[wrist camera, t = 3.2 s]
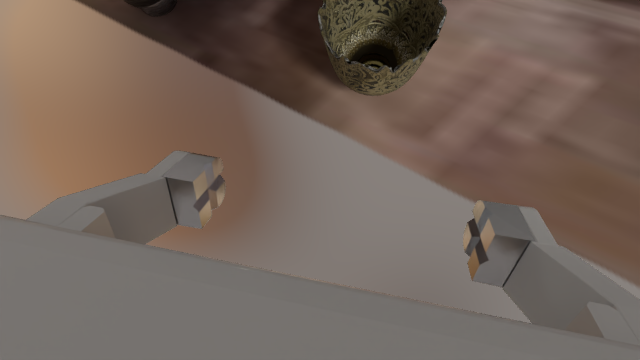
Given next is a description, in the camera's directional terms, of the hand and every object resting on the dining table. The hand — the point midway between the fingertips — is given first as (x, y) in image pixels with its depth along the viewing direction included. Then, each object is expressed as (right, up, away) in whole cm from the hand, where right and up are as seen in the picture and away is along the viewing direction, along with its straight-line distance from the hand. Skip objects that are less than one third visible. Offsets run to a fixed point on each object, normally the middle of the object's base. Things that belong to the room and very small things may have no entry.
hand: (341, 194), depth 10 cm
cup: (+4, +9, +16) cm, 19 cm away
